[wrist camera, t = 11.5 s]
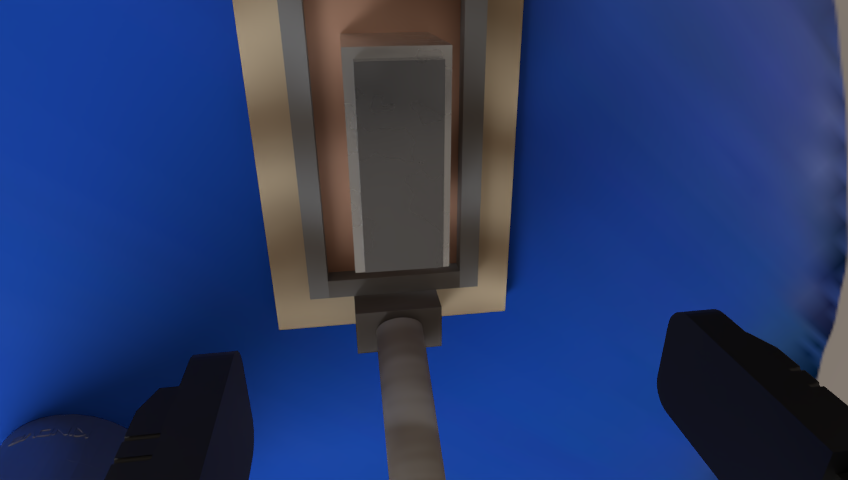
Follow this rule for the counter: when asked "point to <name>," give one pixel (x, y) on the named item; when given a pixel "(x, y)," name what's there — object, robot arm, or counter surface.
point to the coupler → (398, 148)
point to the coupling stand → (330, 188)
